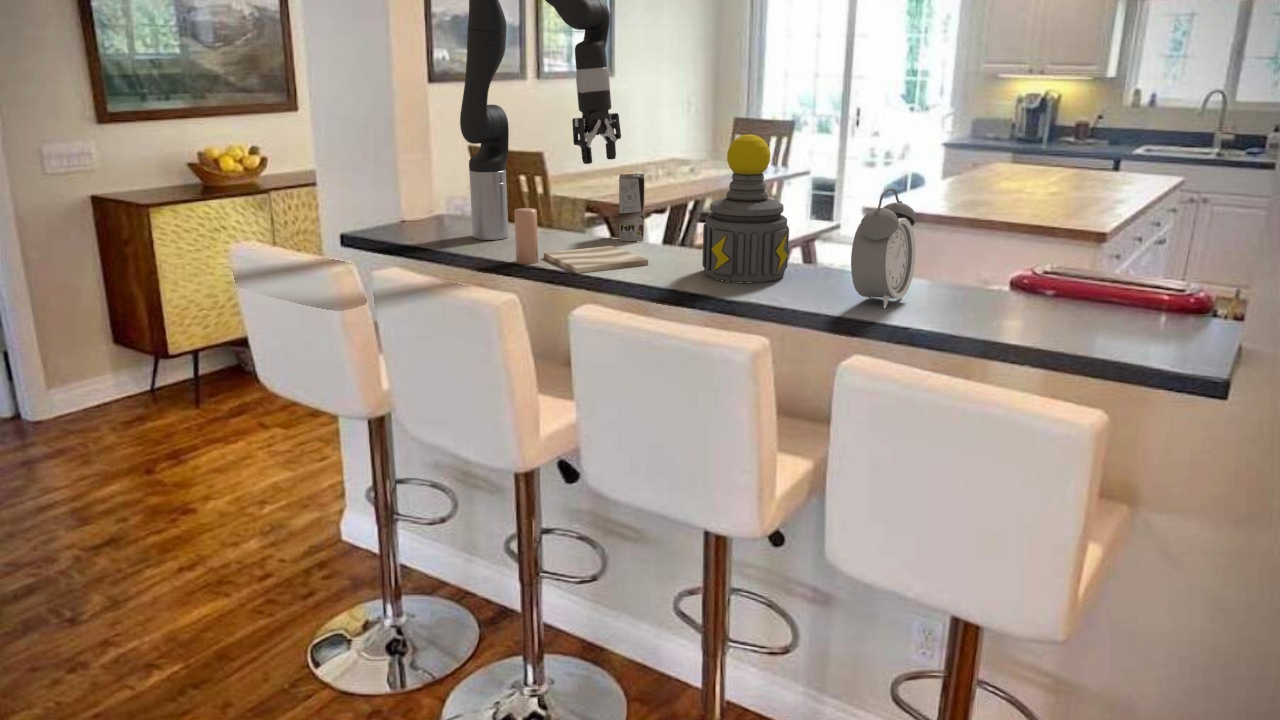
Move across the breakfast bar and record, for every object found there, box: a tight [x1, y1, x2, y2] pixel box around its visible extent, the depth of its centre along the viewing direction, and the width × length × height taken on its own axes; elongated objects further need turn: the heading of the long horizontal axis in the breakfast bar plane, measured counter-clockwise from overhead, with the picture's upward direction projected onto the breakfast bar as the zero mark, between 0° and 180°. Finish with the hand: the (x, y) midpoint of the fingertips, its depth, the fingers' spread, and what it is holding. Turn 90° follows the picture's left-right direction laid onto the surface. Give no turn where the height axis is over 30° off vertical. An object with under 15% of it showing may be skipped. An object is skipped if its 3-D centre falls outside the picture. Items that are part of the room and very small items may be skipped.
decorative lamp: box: [702, 133, 790, 284], centre depth 204 cm, size 19×19×30 cm
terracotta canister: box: [513, 207, 539, 265], centre depth 218 cm, size 5×5×12 cm
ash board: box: [543, 245, 649, 274], centre depth 221 cm, size 18×18×1 cm
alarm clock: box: [850, 188, 917, 307], centre depth 184 cm, size 16×9×22 cm, turn 146°
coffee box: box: [618, 173, 645, 242], centre depth 245 cm, size 9×6×16 cm
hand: (599, 161), depth 223 cm, fingers open, 8 cm apart
